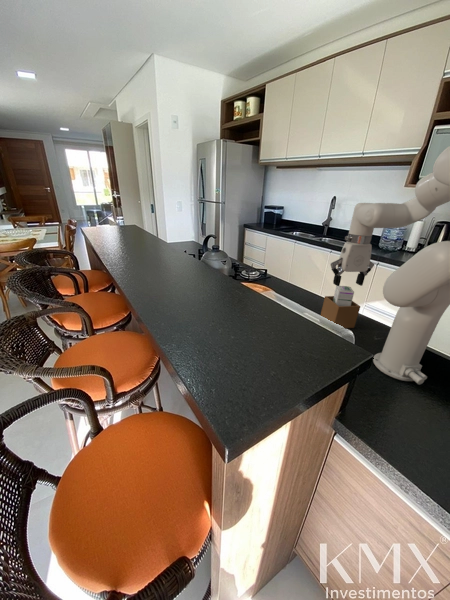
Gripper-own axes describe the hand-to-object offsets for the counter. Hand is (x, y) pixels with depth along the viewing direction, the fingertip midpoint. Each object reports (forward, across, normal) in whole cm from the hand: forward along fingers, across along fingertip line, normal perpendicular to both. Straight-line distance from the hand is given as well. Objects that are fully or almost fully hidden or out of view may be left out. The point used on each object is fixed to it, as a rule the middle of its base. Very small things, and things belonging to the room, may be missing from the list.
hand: (347, 284), depth 96 cm
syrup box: (+16, 0, +1) cm, 16 cm away
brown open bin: (+17, 0, +1) cm, 17 cm away
